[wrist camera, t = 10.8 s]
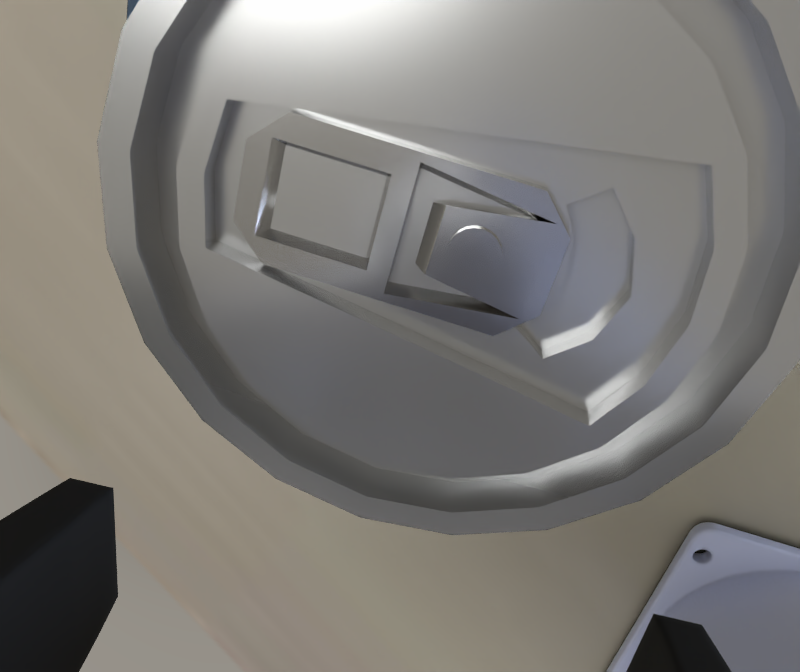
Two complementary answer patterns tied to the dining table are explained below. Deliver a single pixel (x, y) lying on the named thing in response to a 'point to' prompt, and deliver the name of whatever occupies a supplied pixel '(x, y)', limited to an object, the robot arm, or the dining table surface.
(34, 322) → the dining table surface
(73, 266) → the dining table surface
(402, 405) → the beer can
